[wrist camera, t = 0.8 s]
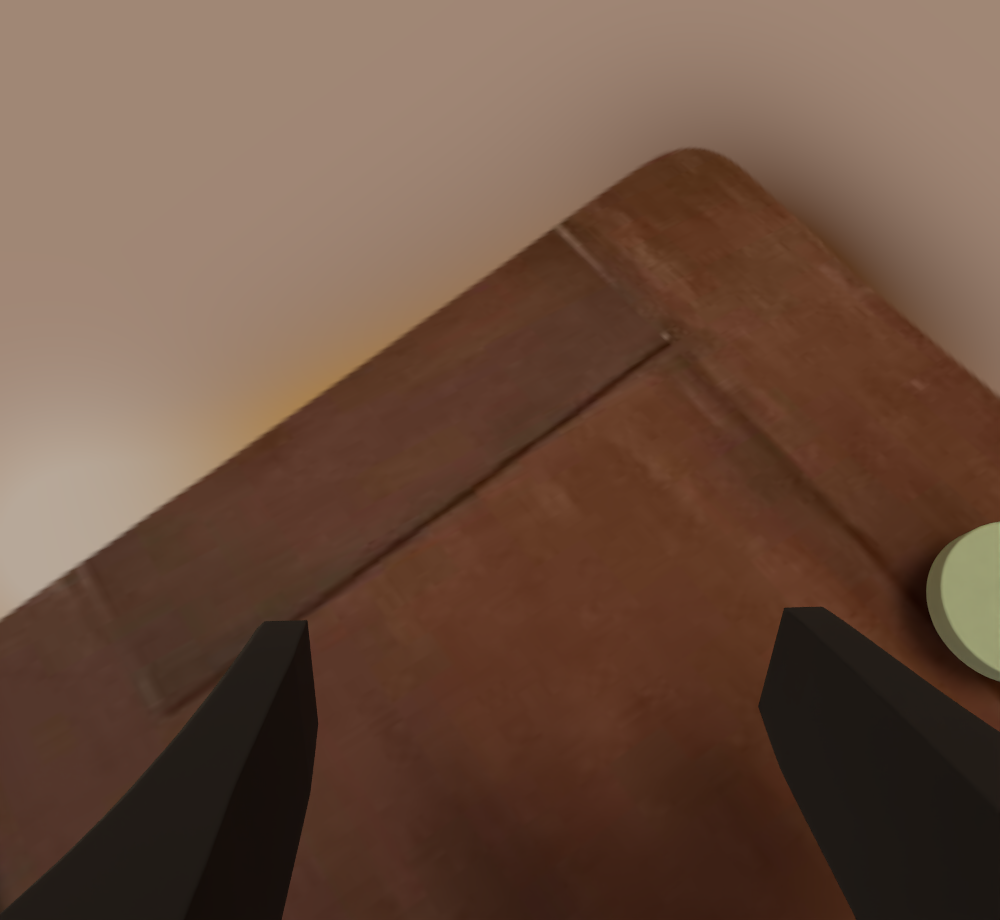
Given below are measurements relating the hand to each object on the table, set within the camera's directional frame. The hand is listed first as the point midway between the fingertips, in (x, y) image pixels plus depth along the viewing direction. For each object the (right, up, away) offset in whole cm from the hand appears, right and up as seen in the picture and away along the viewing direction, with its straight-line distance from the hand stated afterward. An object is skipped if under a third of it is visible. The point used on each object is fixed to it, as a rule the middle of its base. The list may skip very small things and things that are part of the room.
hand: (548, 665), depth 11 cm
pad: (+17, -3, +16) cm, 23 cm away
